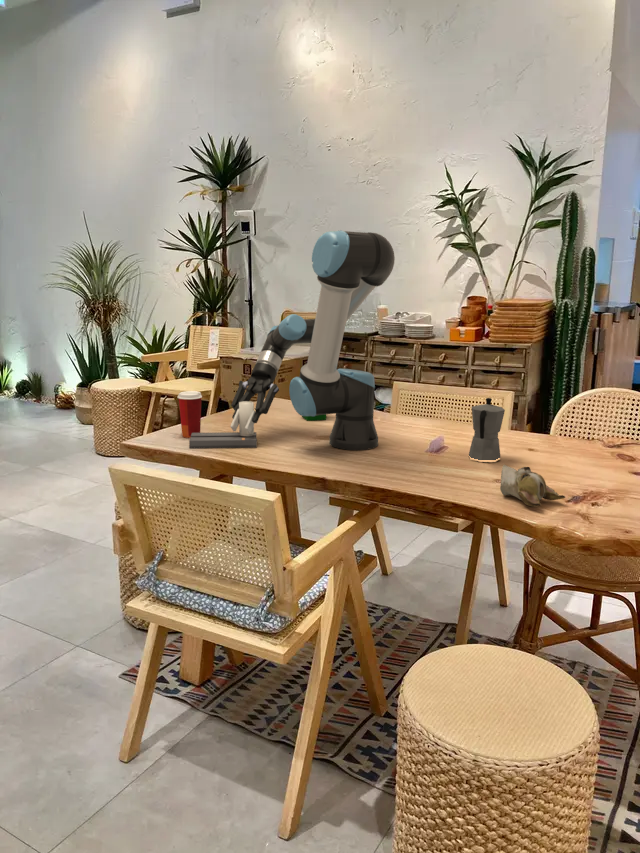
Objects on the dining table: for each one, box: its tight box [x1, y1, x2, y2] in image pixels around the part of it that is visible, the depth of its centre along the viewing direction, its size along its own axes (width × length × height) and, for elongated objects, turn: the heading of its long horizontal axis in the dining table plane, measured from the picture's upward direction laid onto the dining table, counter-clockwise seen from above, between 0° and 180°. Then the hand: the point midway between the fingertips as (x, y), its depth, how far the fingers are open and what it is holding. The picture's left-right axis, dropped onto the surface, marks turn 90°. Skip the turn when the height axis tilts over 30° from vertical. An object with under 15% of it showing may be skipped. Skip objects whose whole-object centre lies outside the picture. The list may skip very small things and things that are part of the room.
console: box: [188, 431, 258, 449], centre depth 208 cm, size 20×10×3 cm, turn 96°
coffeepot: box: [468, 397, 506, 460], centre depth 193 cm, size 15×9×18 cm, turn 156°
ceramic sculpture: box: [499, 464, 566, 507], centre depth 161 cm, size 11×9×15 cm
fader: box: [238, 400, 255, 437], centre depth 207 cm, size 4×4×12 cm
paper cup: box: [177, 390, 203, 439], centre depth 215 cm, size 8×8×14 cm
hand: (240, 429), depth 204 cm, fingers closed on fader, 4 cm apart
